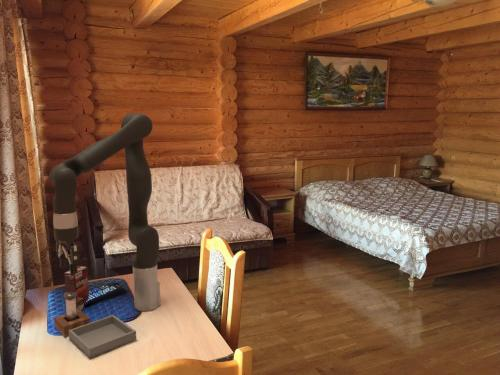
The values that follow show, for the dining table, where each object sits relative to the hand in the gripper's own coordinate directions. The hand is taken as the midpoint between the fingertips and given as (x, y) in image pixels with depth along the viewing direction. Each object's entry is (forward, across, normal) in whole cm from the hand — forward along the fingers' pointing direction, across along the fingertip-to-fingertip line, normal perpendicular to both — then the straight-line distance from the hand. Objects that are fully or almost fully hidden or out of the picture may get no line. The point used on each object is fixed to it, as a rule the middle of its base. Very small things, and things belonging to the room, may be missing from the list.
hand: (68, 270), depth 146 cm
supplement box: (+22, +14, -8) cm, 27 cm away
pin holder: (+22, 0, 0) cm, 22 cm away
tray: (+22, -15, -4) cm, 27 cm away
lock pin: (+22, 0, 0) cm, 22 cm away
